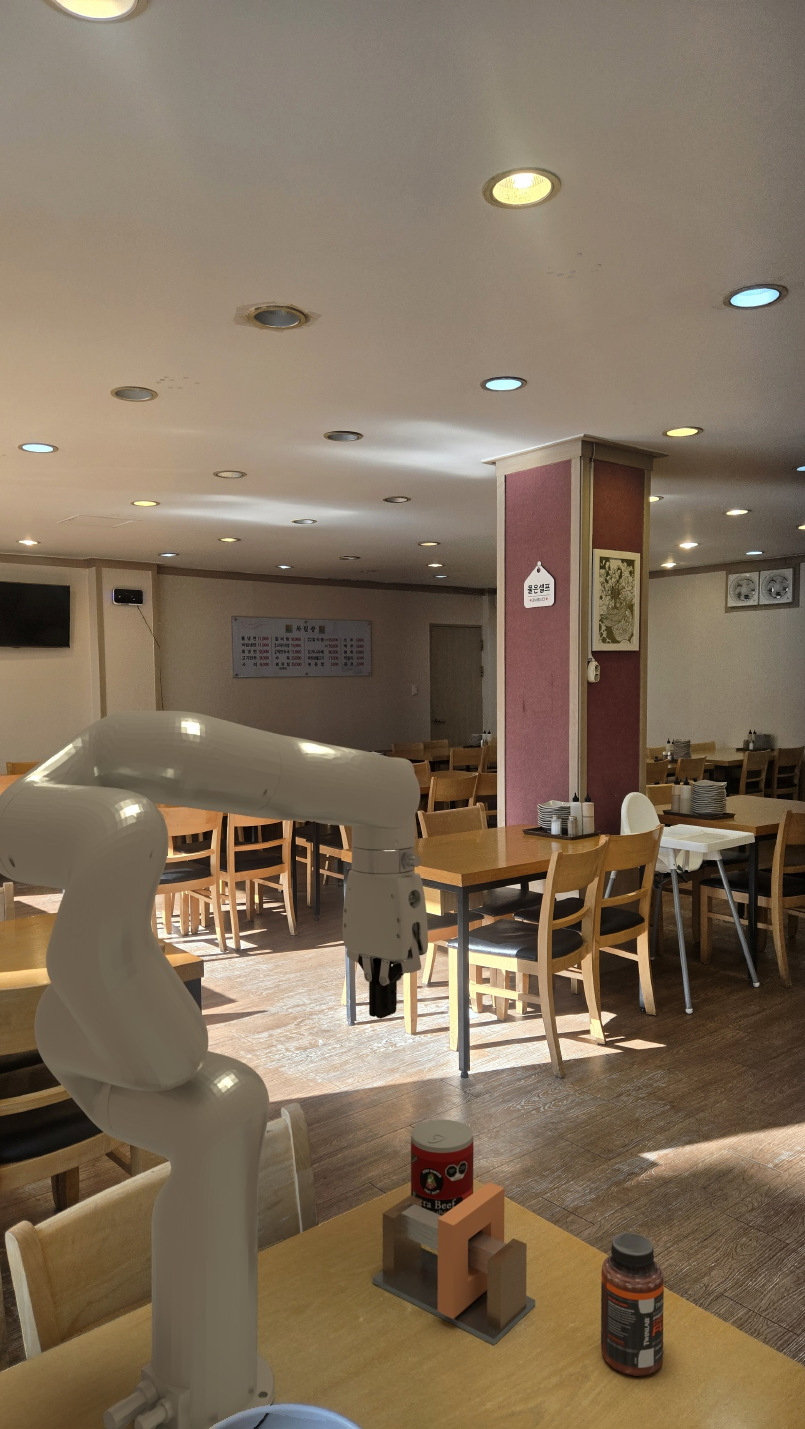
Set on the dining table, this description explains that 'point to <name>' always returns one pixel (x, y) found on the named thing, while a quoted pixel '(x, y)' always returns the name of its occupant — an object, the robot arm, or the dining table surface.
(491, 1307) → the stand
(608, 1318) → the supplement bottle
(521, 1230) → the dining table surface
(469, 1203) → the collar
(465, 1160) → the canned food
